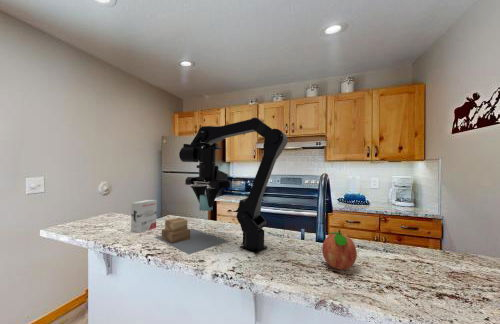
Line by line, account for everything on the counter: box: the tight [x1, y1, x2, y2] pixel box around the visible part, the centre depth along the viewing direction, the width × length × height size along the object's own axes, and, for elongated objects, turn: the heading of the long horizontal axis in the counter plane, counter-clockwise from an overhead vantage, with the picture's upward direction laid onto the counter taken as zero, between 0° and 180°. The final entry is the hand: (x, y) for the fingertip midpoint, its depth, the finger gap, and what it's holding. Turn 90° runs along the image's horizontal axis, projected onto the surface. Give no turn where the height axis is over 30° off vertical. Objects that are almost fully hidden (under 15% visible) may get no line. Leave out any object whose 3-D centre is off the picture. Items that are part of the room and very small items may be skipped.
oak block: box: [164, 217, 188, 233], centre depth 77 cm, size 6×6×3 cm
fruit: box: [321, 229, 358, 271], centre depth 59 cm, size 9×10×10 cm
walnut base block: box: [161, 227, 191, 244], centre depth 77 cm, size 7×7×3 cm
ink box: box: [130, 199, 158, 234], centre depth 87 cm, size 8×5×12 cm, turn 160°
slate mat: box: [154, 228, 229, 255], centre depth 77 cm, size 22×16×1 cm
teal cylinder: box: [198, 193, 214, 212], centre depth 77 cm, size 5×5×5 cm
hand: (206, 206), depth 77 cm, fingers closed on teal cylinder, 5 cm apart
